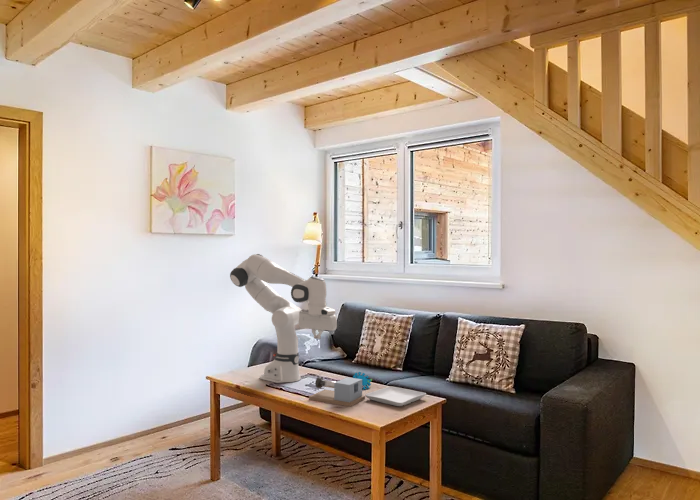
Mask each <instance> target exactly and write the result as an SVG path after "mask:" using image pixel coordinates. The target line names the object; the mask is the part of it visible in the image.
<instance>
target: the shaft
mask: <svg viewBox="0 0 700 500" xmlns="http://www.w3.org/2000/svg"><path fill="white" fill-rule="evenodd" d="M314 382H315V387H316V388H317V389H322V388H331V389H334V383H335V382H336V381H334V380H333V381H332V380H325V379H324V378H323V377H320V376H318V377H317V378H316V379H315V381H314Z"/></svg>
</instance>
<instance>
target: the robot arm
mask: <svg viewBox="0 0 700 500" xmlns="http://www.w3.org/2000/svg"><path fill="white" fill-rule="evenodd" d="M229 278H230V281H231V282H232V284H234V285H235V286H236V287H239V288H242V287H244V289H245V290H246V291H247V293H248V294H249V295H250V297H251V298H252V299H253V300H254V301H255V302H256V303H257V304H259V306H261V308H263V309H264V310H265V311H266V312H270V314H272V315H271V322H272V325H273V326H274V329H275V333H276V341H277V343H276V344H277V345H276V346H277V351H276V353H274V354H272V355H273V357H274V360H272V361H271V362H270V363H268V364H267V365H266V366H265V368H264V371H263V374H261V375H260V376H259V379H260V380H263V381H268V382H272V383H276V384H281V383H293V382H299V381H300V380H301V378H302V377H301V375H300V373H301V372H300V368H299V361H300V354H299V338H298V336H297V334H296V328H295V327H296V326H297V325H298V327H299V329H307V330H311V333H312V336H313V339H316V340H320V339H321V338H322V337H321V336H322V334H323V332H324V331H332V332H333V331H336V329H337V328H338V323H337V322H338V321H337V320H338V319H337V317H336V315H335V314H336V310H335V309H334V308H332V307H329V306H327V301H326V298H327V283H326V280H325V279H324V278H322V277H320V276H310V277H309V278H308V279H304V278H302V277H301V276H299V275H297V274H295V273H293V272H290V271H289V270H287V269H285V268H283V267H282V266H281V265H279V264H277V263H275V262H274V261H273V260H271V259H269V258H267V257H264V256H263V255H262V254H260V253H257V254H256V253H255V254H252V255H250V256H249V257H248V258H247V259H245V260H243V261H242V262H241V263H240V264H239V265H237V266H236V267H234V268H233V269H232V270H231V272H230V273H229ZM270 284H272V285H275V284H276V285H277V284H278V285H286V286H290V287H292V288H291V291H290V297H291V299H292V300H293V301H294V302H295V303H299V304H300V303H301V304H302V303H307V304H308V305H307V309H304V308H303V309H302V308H301V307H299V306H298V305H295V304H294V303H292V302H291V301H290V300H288V299H286V298H284V297H283V296H282V295H280V294H279V293H278V292H277V291H276V290H275V289H274V288H273V287H272V286H271V285H270ZM317 331H318V333H317Z"/></svg>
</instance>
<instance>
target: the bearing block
mask: <svg viewBox="0 0 700 500" xmlns="http://www.w3.org/2000/svg"><path fill="white" fill-rule="evenodd" d="M334 382H335V383H334V388H333V389H334V390H330V389H323V390H321V391H317V392H316V393H313V394H311V395H309V396H308V400H309V401H317V402H321V403H326V404H333V405H338V406H345V407H353V406H354V405H357V404H358V403H361V402H363V401H364V400H366V396H365V395H363V386H362V379H357V377H356V378H353V377H349V376H347V377H345V378H343V379H340V380H337V381H334Z"/></svg>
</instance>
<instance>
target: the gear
mask: <svg viewBox="0 0 700 500" xmlns="http://www.w3.org/2000/svg"><path fill="white" fill-rule="evenodd" d="M361 374H362V375H361ZM352 378H357V379H362V391H363V390H364V391H365V390H368V389H370V386H372V381H373V378H370V379H369V376H368V375H366V373H365V372H361V371H358V372H354V374H353V376H352Z"/></svg>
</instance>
